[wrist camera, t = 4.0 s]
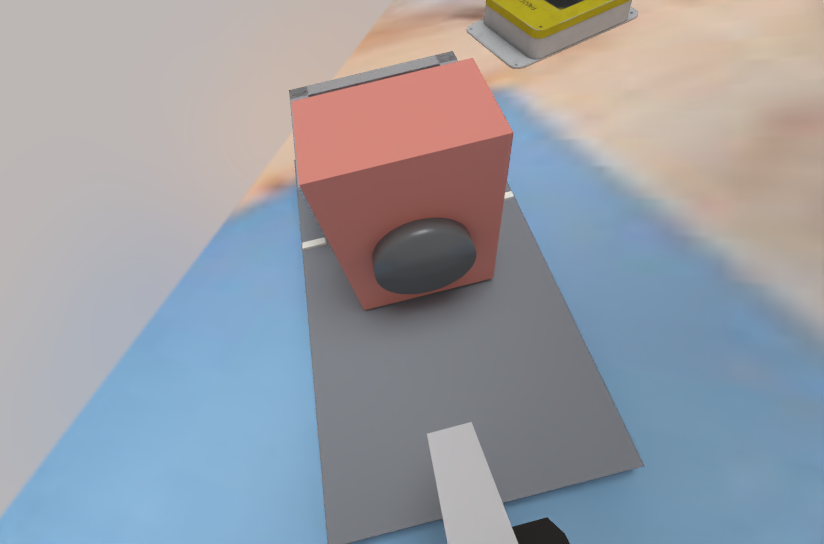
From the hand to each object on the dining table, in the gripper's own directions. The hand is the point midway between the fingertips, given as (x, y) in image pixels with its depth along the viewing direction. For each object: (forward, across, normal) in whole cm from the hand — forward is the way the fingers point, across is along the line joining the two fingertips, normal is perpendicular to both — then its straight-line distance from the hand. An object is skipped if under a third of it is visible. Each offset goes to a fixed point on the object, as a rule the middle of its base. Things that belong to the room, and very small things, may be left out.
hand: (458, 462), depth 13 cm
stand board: (+14, +1, +2) cm, 14 cm away
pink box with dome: (+13, +1, +4) cm, 13 cm away
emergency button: (+33, +21, +20) cm, 43 cm away
